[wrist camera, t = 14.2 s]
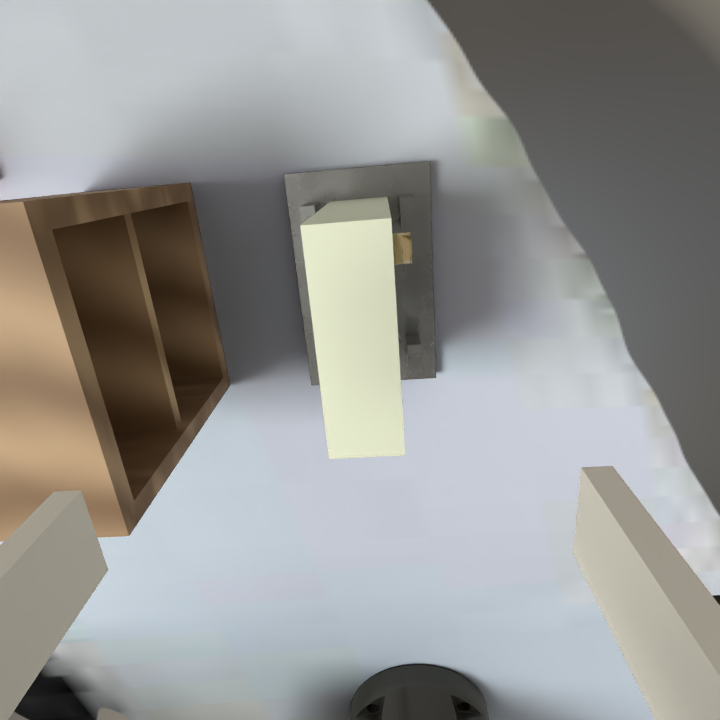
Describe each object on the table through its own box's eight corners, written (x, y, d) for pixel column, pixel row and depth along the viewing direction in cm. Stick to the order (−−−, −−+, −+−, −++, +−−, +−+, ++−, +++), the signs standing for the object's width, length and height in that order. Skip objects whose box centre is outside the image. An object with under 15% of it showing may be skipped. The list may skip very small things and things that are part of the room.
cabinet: (229, 385, 42) (129, 536, 25) (137, 390, 42) (-23, 542, 25) (190, 182, 36) (22, 201, 19) (83, 192, 36) (-172, 218, 20)
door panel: (409, 356, 39) (424, 454, 26) (346, 360, 39) (329, 458, 26) (401, 195, 35) (414, 216, 22) (329, 201, 35) (300, 225, 22)
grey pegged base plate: (434, 372, 40) (440, 394, 37) (312, 380, 41) (306, 401, 37) (428, 161, 35) (434, 161, 31) (286, 173, 35) (275, 175, 32)
